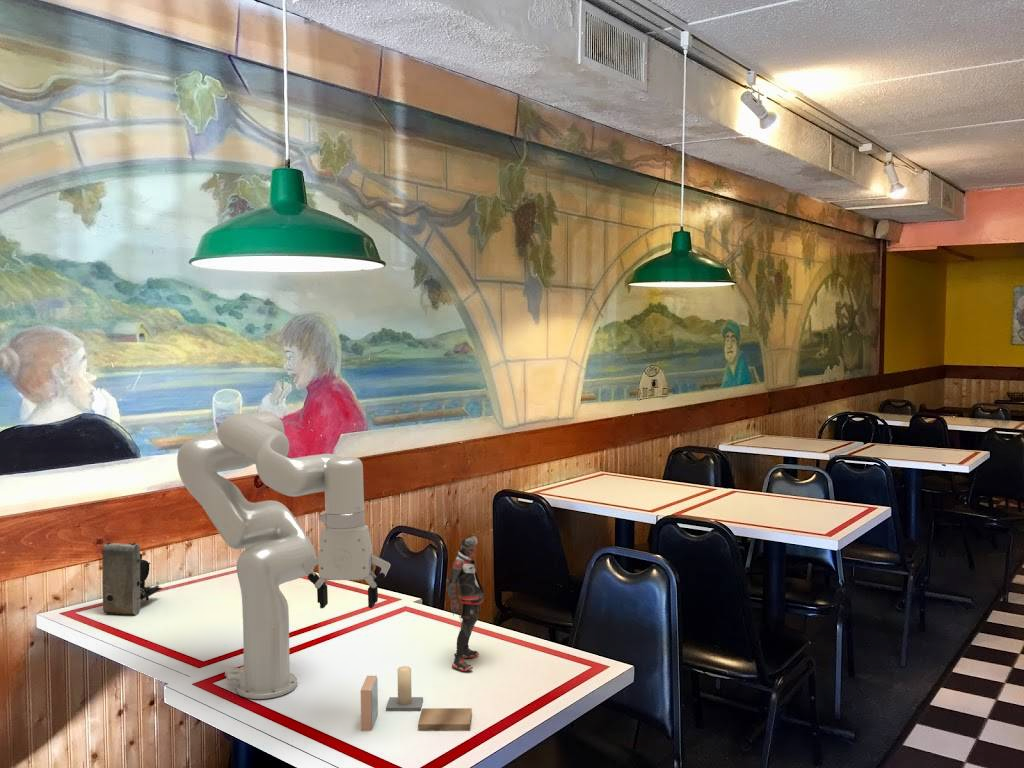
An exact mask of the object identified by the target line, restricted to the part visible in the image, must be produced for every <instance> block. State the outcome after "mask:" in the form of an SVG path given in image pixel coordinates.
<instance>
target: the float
mask: <svg viewBox="0 0 1024 768" xmlns="http://www.w3.org/2000/svg"><path fill="white" fill-rule="evenodd" d="M423 703H424V697H423V696H412V668H411V667H410V666H407V665H406V666H400V667H398V668H397V696H394V697H393V696H392V697H390V696H389V698H388V701H387V703H386V706H385V711H386V712H421V710H422V705H423Z"/></svg>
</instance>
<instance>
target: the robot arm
mask: <svg viewBox="0 0 1024 768" xmlns="http://www.w3.org/2000/svg"><path fill="white" fill-rule="evenodd" d="M284 425H285V424H284V422H283V421H282V419H281V418H280V417H279V416H278V415H277V414H275V413H273V412H270V411H257V412H255V411H254V412H245V413H243V412H242V413H235V414H231V415H229V416H227V417H225V418H224V419H223V420H222V421H221V422H220V423H219V425H218V427H217V433H216V434H213V435H204V436H203V435H202V436H198V437H195V438H192V439H189V440H188V441H186V442H184V443H183V444H182V445H181V446H180V448H179V450H178V452H177V456H176V465H177V469H178V470H177V471H178V474H179V478H180V480H181V482H182V484H183V485H184V487H185V489H186V490H187V491H188V492H189V494H190V495H191V496H192V497H193V498H194V499H195V501H197V503H198V504H199V505H200V506H201V507H202V508H203V510H204V512H206V515H207V517H208V518H209V520H210V521H211V522H212V524H213V526H214V527H215V529H216V530H217V532H218V533H219V535H220V536H221V538H222V539H223V541H224V542H225V544H226V545H227V546H228V547H230V549H232V550H243V551H241V553H240V554H239V556H238V558H237V561H236V574H237V579H238V583H239V587H240V594H241V604H242V605H241V607H242V628H243V629H242V632H243V633H242V640H243V641H242V642H243V666H240V667H226V668H225V671H224V676H225V677H226V680H227V681H237V682H238V683H237V684H236V692H237V694H238V695H240V696H241V697H243V698H247V699H253V700H264V699H265V700H267V699H273V698H277V697H280V696H285V695H286V694H288V693H290V692H292V691H294V689H296V687H297V685H298V677H297V676H296V675H295V674H293V673H291V672H290V671H291V669H290V668H291V667H290V619H289V618H290V616H289V615H290V614H289V604H288V600H287V598H286V596H285V595H284V593H283V592H282V590H281V589H280V585H283V584H285V583H288V582H291V581H295V580H297V579H301V578H305V577H306V576H307V579H308V581H310V582H311V583H312V584H313V585H314V588H316V592H317V593H316V596H317V598H316V599H317V603H318V604H319V608H320V609H325V607H326V606H327V605H328V604H329V598H328V597H329V596H328V594H329V593H328V585H327V583H326V582H327V581H362V580H365V582H366V583H367V584H368V585H369V586H368V588H367V602H368V603H367V604H368V605H367V606H368V607H367V608H369V609H373V608H374V606H375V605H376V603H378V602H379V597H378V596H379V595H378V591H379V590H378V587H379V586H378V585H379V584H380V583H381V582H382V581H383V580H385V577H386V576H387V573H388V572H389V569H390V567H391V563H390V562H389V561H386V560H384V559H382V558H381V557H378V556H376V555H374V553H373V546H372V540H371V539H372V538H371V534H370V529H369V526H368V525H367V524H365V522H366V521H365V518H366V517H365V495H364V494H365V493H364V492H365V491H364V466H363V462H362V460H361V459H360V458H358V457H355V456H354V457H353V456H339V455H337V454H333V453H321V454H320V453H319V454H312V455H306V456H299V457H293V458H290V457H288V454H289V451H290V441H289V438H288V437H287V435H286V434H285V433H286V431H285V426H284ZM253 465H255V468H256V472H257V475H258V477H259V478H260V481H262V483H263V484H264V485H265V486H266V487H269V488H270V489H271V490H274V491H275V492H278V493H280V494H282V495H285V496H288V497H301V496H305V495H310V494H316V493H321V492H323V493H324V505H325V508H324V509H325V511H324V513H323V514H319V515H318V522H320V523H321V522H322V523H323V524H324V527H322V528H321V531H320V538H319V546H318V547H319V549H318V557H317V554H316V549H315V548H314V545H313V544H312V541H311V540H310V538H309V536H308V535H307V534H306V532H305V531H304V529H303V527H301V525H300V523H299V522H298V520H297V519H296V518H295V516H294V515H293V513H292V512H291V510H289V508H288V507H287V506H286V505H284V503H282V502H280V501H278V500H270V499H269V500H262V501H257V502H251V501H249V500H248V499H247V498H246V497H244V496H245V495H243V493H242V491H241V489H240V488H239V487H238V486H237V485H235V484H234V482H232V481H230V480H229V479H227V478H226V477H224V476H222V475H220V474H219V473H220V472H227V471H234V470H241V469H245V468H249V467H250V466H253ZM317 565H318V573H316V572H315V571H314V569H315V567H316V566H317ZM374 565H375V566H377V567H379V568H380V569H381V570H380V572H379V574H378V575H377V576H376V574H375V573H374V572H373V571H374Z"/></svg>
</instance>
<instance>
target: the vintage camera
mask: <svg viewBox="0 0 1024 768" xmlns="http://www.w3.org/2000/svg"><path fill="white" fill-rule="evenodd" d="M101 550H102V551H101V555H102V563H101V564H102V567H101V568H102V612H103V613H104V614H105V613H108V614H107V615H120V614H125V615H127V616H137V615H138V614H139V613H140V611H141V602H142V600H144V599H145V600H146V601H149V597H151V596H153V595H154V594H155V593H157V592H159V591H160V590H162V589H163V588H162V587H160V585H158V584H157V585H155V586H153V587H151V586H149V585H148V586H145V585H146V580H147V579H148V576H149V573H150V565H151V562H148V561H147V560H145V559H143V554H142V553H141V547H140V546H139V544H138V543H136V542H132V543H131V542H130V543H128V544H127V543H120V542H114V543H113V542H109V541H108V542H106V543H105V544H104V545H103V548H102V549H101ZM136 614H137V615H136Z"/></svg>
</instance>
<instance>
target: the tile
mask: <svg viewBox="0 0 1024 768" xmlns="http://www.w3.org/2000/svg"><path fill="white" fill-rule="evenodd" d="M378 682H379V681H378V676H377V675H366V678H365V679H364V681H363V683H362V684H363V685H361V689H360V731H361V732H371V731H372V730H373V728H374V725H375V722H376V719H377V716H378V713H379V710H378V709H379V708H378V707H379V703H378V702H379V701H378V700H379V699H378V697H379V696H378V694H379V691H378V690H379V689H378V687H379V686H378Z"/></svg>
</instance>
